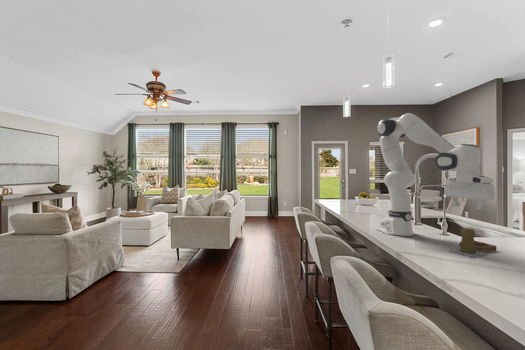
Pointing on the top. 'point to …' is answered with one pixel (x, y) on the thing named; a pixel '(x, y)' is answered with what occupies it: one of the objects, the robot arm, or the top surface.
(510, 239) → the top surface
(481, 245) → the walnut cradle
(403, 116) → the robot arm
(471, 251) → the olive green figurine
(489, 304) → the top surface
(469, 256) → the rubber mat
